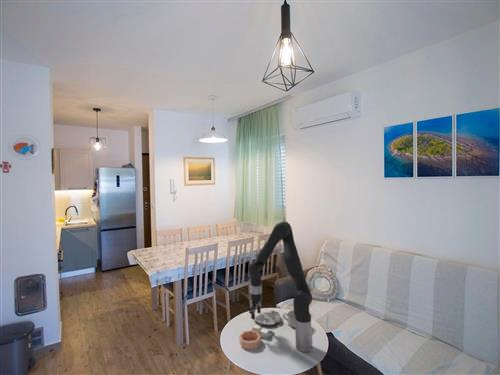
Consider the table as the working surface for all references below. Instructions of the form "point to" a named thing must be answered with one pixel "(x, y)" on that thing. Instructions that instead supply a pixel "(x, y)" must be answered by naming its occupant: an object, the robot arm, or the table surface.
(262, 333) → the stone
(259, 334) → the tray
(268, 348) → the table surface
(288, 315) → the teacup
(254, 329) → the stone
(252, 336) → the bowl
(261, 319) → the brain slice
